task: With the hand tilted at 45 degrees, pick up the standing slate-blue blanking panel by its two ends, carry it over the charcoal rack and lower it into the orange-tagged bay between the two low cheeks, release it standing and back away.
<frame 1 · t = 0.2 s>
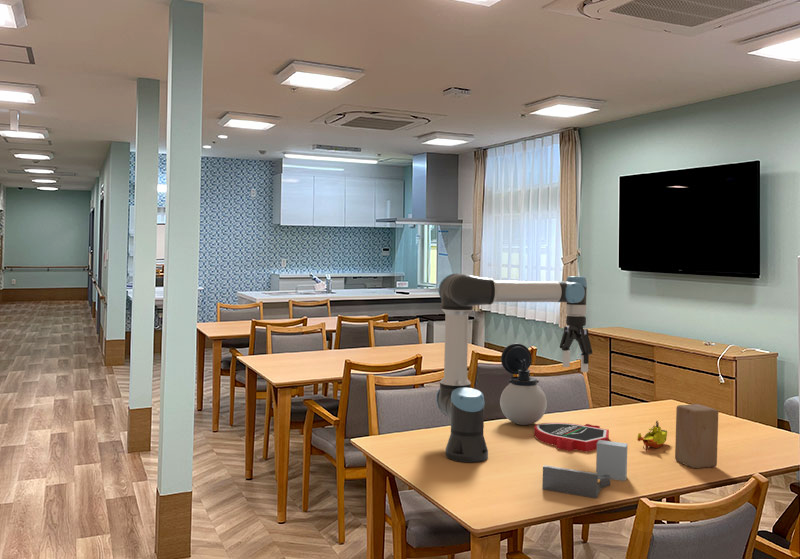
hand: (575, 369, 252), 28 cm above the table, tool pointing down, fingers open, 13 cm apart
rack: (572, 488, 197), on the table
wooden block: (695, 464, 224), on the table
toy submarine: (655, 447, 244), on the table
emblem: (569, 440, 253), on the table
light fixture: (521, 423, 277), on the table
panel: (611, 476, 209), on the table
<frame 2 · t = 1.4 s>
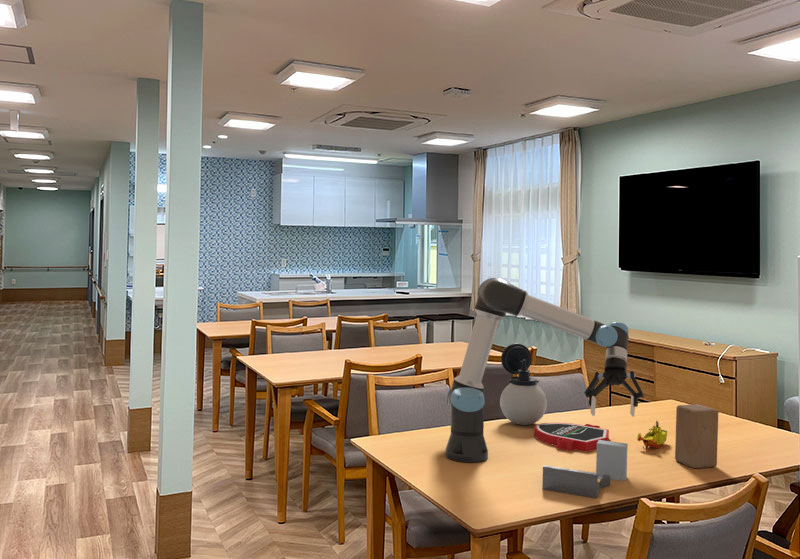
hand: (612, 414, 224), 17 cm above the table, tool tilted 40°, fingers open, 13 cm apart
nothing on the table moved.
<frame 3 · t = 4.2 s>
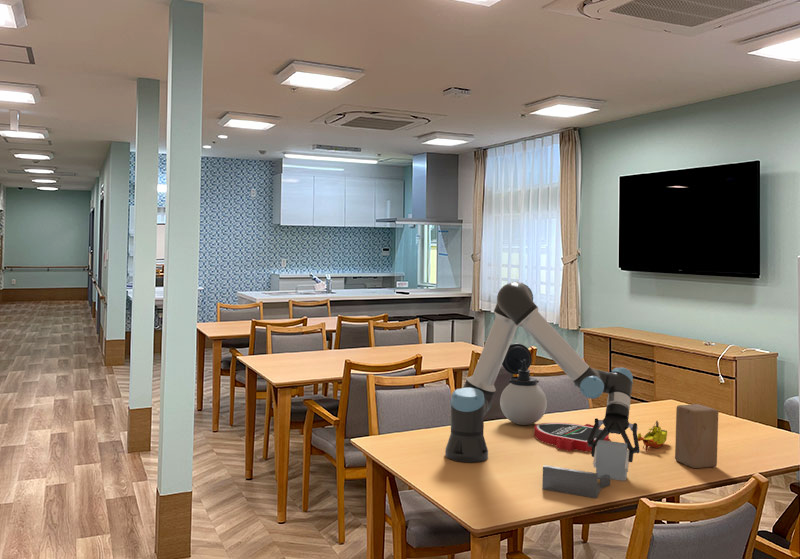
hand: (610, 467, 206), 4 cm above the table, tool tilted 45°, fingers closed on panel, 9 cm apart
panel: (611, 476, 209), on the table, touching gripper
everything else where it was.
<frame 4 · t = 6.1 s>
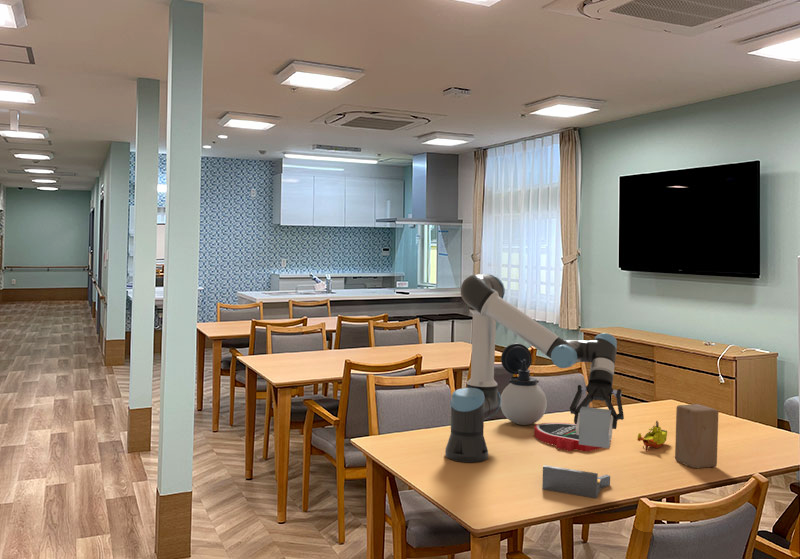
hand: (593, 434, 198), 16 cm above the table, tool tilted 45°, fingers closed on panel, 9 cm apart
panel: (594, 444, 201), point 13 cm above the table, touching gripper
everything else where it was.
when the fingers open (7 cm above the table, at t = 8.5 s): panel drops 3 cm, resting in rack.
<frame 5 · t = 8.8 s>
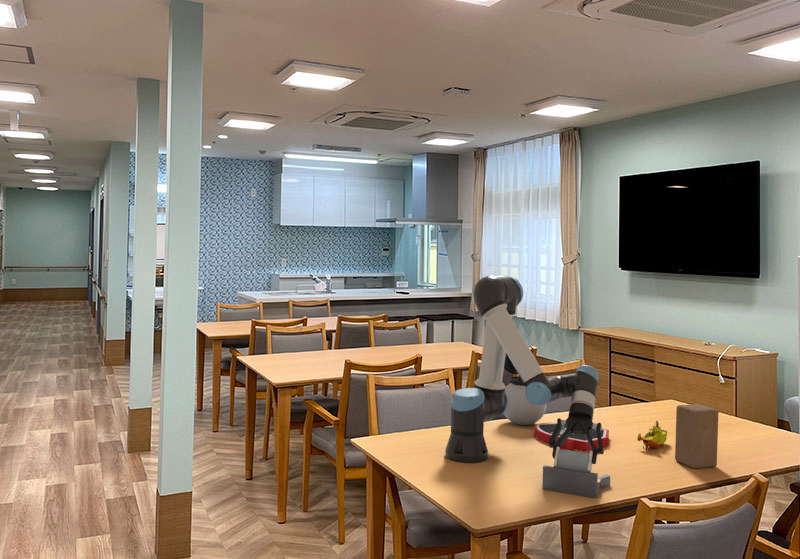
hand: (572, 470, 194), 7 cm above the table, tool tilted 45°, fingers open, 9 cm apart
panel: (573, 488, 197), resting in rack
everything else where it was.
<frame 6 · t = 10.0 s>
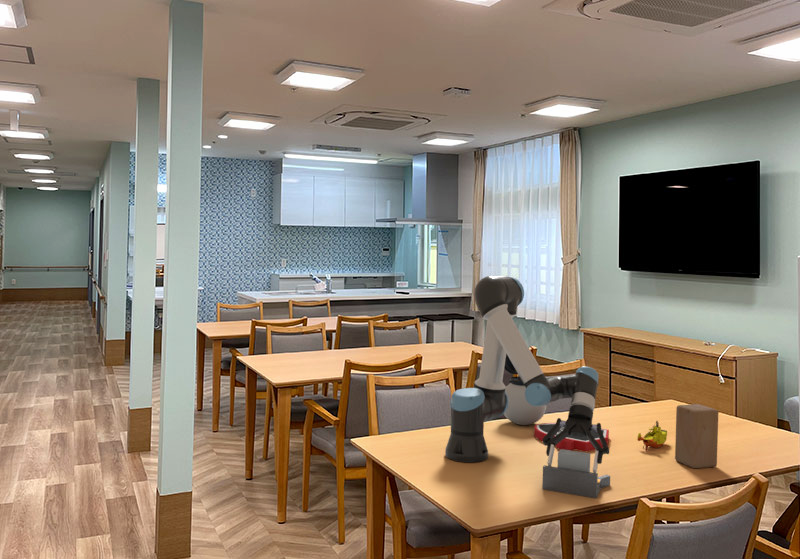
hand: (571, 468, 195), 7 cm above the table, tool tilted 45°, fingers open, 13 cm apart
nothing on the table moved.
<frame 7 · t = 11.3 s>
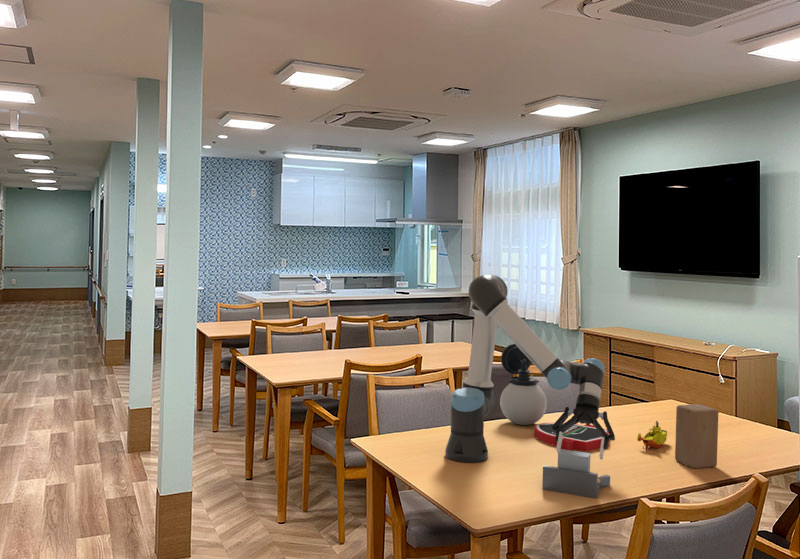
hand: (579, 454, 207), 8 cm above the table, tool tilted 45°, fingers open, 13 cm apart
nothing on the table moved.
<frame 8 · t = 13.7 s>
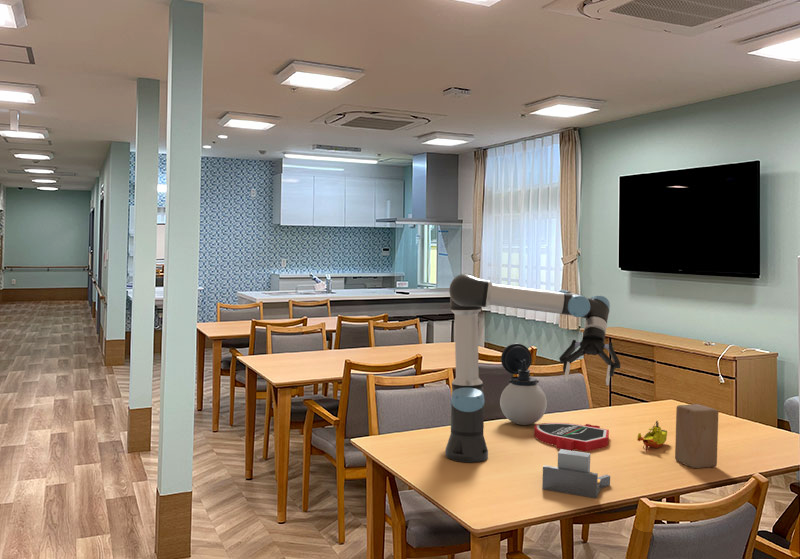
hand: (586, 381, 216), 30 cm above the table, tool tilted 45°, fingers open, 13 cm apart
nothing on the table moved.
at the end: panel inside the target area (0.3 cm from its centre), resting in rack; panel tilted 0°; the gripper is holding nothing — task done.
